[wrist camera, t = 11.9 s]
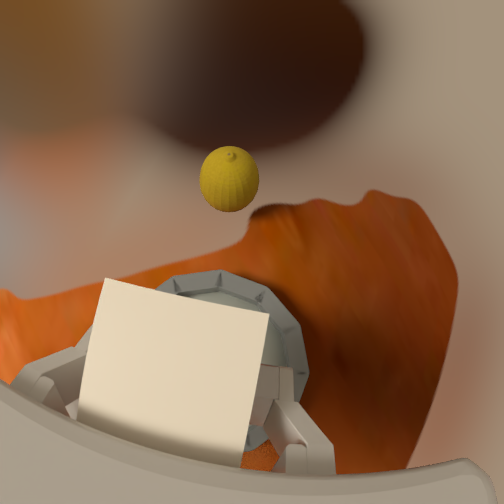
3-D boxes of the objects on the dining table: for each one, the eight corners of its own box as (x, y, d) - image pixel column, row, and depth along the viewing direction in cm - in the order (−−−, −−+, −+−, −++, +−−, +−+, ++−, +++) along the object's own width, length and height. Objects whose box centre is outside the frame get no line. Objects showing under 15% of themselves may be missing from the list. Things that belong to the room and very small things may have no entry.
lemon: (220, 172, 32) (218, 122, 25) (264, 193, 32) (273, 145, 24) (193, 210, 31) (182, 164, 23) (239, 234, 30) (242, 192, 23)
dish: (312, 429, 24) (320, 435, 21) (144, 451, 22) (136, 459, 20) (282, 268, 29) (286, 259, 27) (120, 290, 27) (111, 284, 25)
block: (234, 420, 14) (237, 478, 6) (147, 399, 14) (75, 430, 6) (250, 335, 15) (269, 313, 8) (164, 317, 15) (105, 277, 8)
